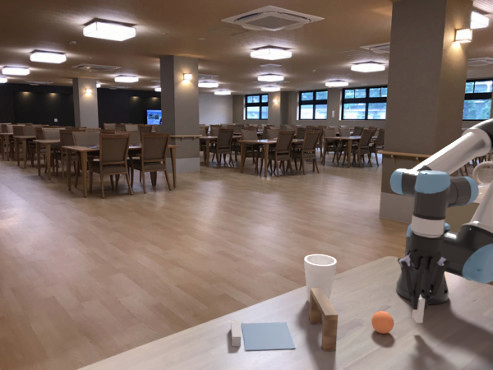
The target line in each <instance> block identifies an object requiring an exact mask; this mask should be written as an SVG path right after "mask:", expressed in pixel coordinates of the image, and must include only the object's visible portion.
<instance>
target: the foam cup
mask: <svg viewBox="0 0 493 370" xmlns="http://www.w3.org/2000/svg"><path fill="white" fill-rule="evenodd" d="M337 264H338V263H337V259H336V258H335V257H333V256H330V255H327V254H321V253H320V254H319V253H314V254H309V255H306V256H304V263H303V268H304V276H305V283H306V284H305V285H306V286H305V289H306V297H307V298H306V299H307V302H308V303H309V304H310V288H322V290H323V291H324V293H325V295H326V296H327V298H328V299H329V301H330V298H331V294H332V289H333V283H334V278H335V273H336V271H337Z"/></svg>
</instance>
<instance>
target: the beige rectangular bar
mask: <svg viewBox="0 0 493 370" xmlns="http://www.w3.org/2000/svg"><path fill="white" fill-rule="evenodd" d="M230 335H231V344H232V347H241V346H242V344H241V343H242V336H241V327H240V321H239V319H230Z"/></svg>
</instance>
